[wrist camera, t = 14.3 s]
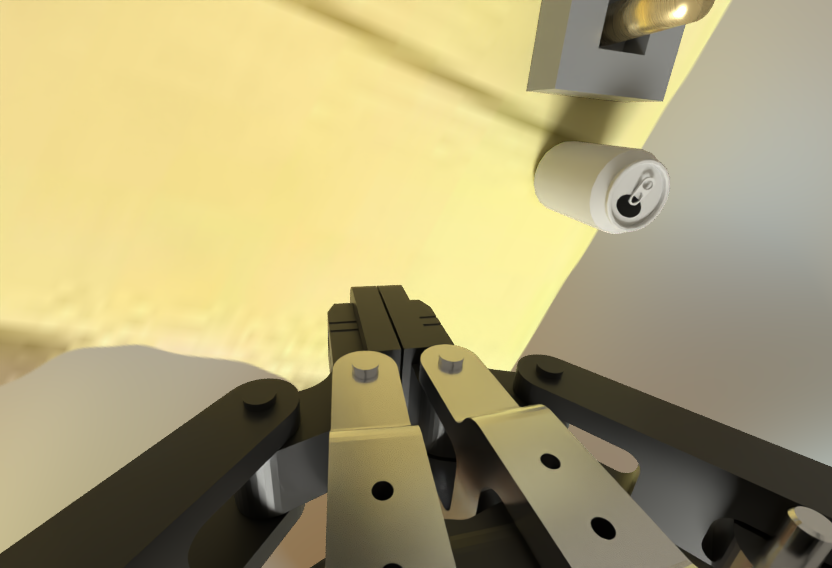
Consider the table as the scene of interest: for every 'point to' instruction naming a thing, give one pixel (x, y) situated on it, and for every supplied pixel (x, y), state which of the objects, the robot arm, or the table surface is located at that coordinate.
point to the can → (602, 185)
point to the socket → (598, 56)
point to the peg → (649, 17)
